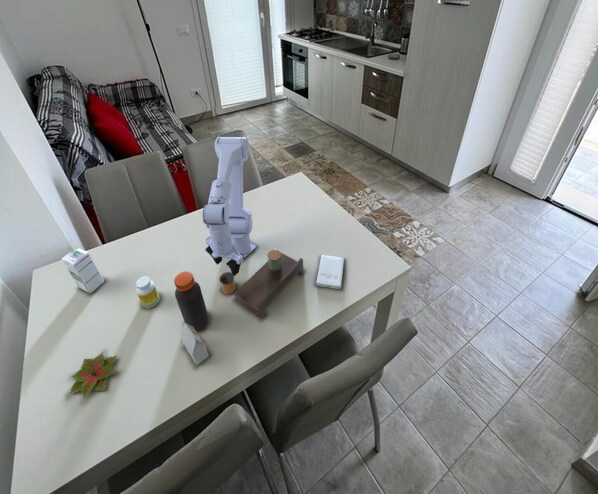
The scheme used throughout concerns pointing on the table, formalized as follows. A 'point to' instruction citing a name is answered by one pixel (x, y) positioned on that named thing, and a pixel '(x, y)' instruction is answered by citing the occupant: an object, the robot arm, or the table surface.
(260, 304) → the spice shelf
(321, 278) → the hard drive
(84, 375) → the red green leafy plant
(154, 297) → the supplement bottle
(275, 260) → the sage jar
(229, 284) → the ochre jar
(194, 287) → the vinegar
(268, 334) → the table surface
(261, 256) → the table surface
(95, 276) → the syrup box
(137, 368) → the table surface
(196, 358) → the white gable top packet
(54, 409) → the table surface
